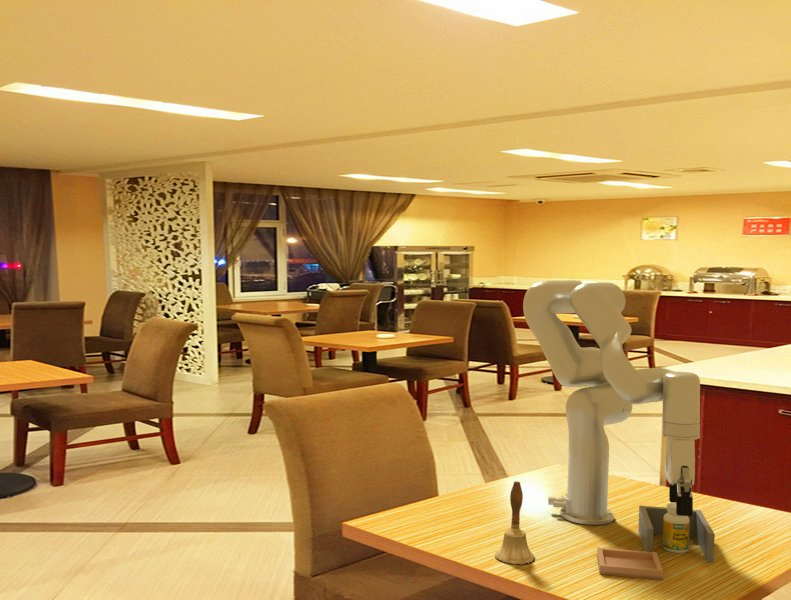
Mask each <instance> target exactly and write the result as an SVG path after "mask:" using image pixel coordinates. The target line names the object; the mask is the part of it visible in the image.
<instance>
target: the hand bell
mask: <svg viewBox="0 0 791 600" xmlns="http://www.w3.org/2000/svg"><path fill="white" fill-rule="evenodd" d="M509 497H510V498H509V500H510V502H509V504H510V506H511V513H512V514H511V524H510V528H508V529H506V530H505V531H504V532H503V533H504V535H503V540H502V543H501V546H500V547H499V549H497V550H496V552H495V553H494V558H495V557H496V558H497V559H499V560H501V561H503V562H502V563H504V562H507V563H506V564H508V563H513V564H512V565H516V564H520V565H526V564H525V563H528V562H531V561H533V560H534V559H536V557H535V555H534V553H533V552H532V551H531V549H530V548H529V545H528V540H527V533H526V532H525V530H523V529H521V528H520V523H521V522H520V520H521V519H520V512H521V509H522V505H523V500H524V495H523V490H522V487H521V481H513V485H512V487H511V490H510V496H509ZM496 558H495V559H496ZM499 560H498V561H499ZM501 561H500V562H501ZM534 561H535V560H534ZM534 561H533V562H534ZM523 563H524V564H523ZM531 563H532V562H531ZM528 564H529V563H528Z"/></svg>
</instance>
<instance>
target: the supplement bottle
mask: <svg viewBox="0 0 791 600" xmlns="http://www.w3.org/2000/svg"><path fill="white" fill-rule="evenodd" d="M666 508H667V512H668V513H666V514H665V515H664V517H663V535H662V548H663V550H664V551H668V552H670V553H674V554H685V553H687V552H688V550H689V545H690V544H689V543H690V542H689V541H690V537H689V518H688V516H678V515H677V514H676V503H673V502H670V503H667V504H666Z"/></svg>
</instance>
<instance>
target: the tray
mask: <svg viewBox="0 0 791 600" xmlns="http://www.w3.org/2000/svg"><path fill="white" fill-rule="evenodd" d="M596 557H597V558H596V559H597V565H598V572H599V575H603V576H614V577H615V576H616V577H622V578H623V577H624V578H625V577H626V578H637V579H644V580H645V579H647V580H649V579H650V580H657V581H664V569H663V567H662V564H661V562H660V559H659V556H658V553H657V551H653V552H646V551H645V550H634V549H621V548H612V547H611V548H609V547H599V546H598V547H596Z"/></svg>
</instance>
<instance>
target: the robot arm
mask: <svg viewBox="0 0 791 600" xmlns="http://www.w3.org/2000/svg"><path fill="white" fill-rule="evenodd" d="M625 307H626V296H625V293H624V292H623V289H621V288H620V286H618V285H617V284H615V283H613V282H607V281H605V282H604V281H601V282H599V281H588V280H587V281H586V280H574V279H573V280H559V279H558V280H556V279H555V280H543V281H539V282H536V283H534V284H531V286H530V287H528V289H527V290H526V292H525V295H524V297H523V304H522V308H523V309H522V310H523V316H524V319H525V321H526V324H527V326H528V327H529V329H530V331H531V332H532V334H533V335H534V337H535V340H537V342H538V344H539V346H540V348H541V350H542V353H543V355H544V357H545V359H546V360H547V363H548V365H549V367H550V368H551V371H552V373H553V375H554V376H555V378H556V380H557V382H558V383H559V384H560V385H561V386H563V387H565V388H578V387H583V388H578V389H576V390H574V391H573V392H572V393H571V394H569V396H568V398H567V399H566V402H565V403H566V404H565V414H566V421H567V427H568V428H567V429H568V459H567V461H568V462H567V463H568V464H567V492H566V493H565V496H561V497H555V496H548V501H547V503H548V505H549V506H552V507H553V508H560V511H559V512H560V516H561V517H562V518H563V519H564V520H566V521H568V522H572V523H576V524H581V525H588V526H589V525H590V526H591V525H593V526H599V525H600V526H601V525H605V524H610V523H611V522H613V521H614V516H615V515H614V512H612V511H611V510H610V509H608V499H609V498H608V495H609V493H608V492H609V467H610V444H609V443H610V442H609V439H608V436H607V434H606V431H605V427H604V426H608V425H614V424H618V423H622V422H624V421H626V420H628V418H630V417H631V415H632V411H633V405H643V404H651V403H658V402H662V436H663V438H666V440H665V454H664V455H665V457H664V458H665V459H664V460H665V461H664V476H665V478H666V481H668V483H669V486H668V487H669V488H668V489H669V494H668V495H669V496H668V497H669V502H670V503H676V514H677V515H678V516H692V515H693V510H694V507H693V506H694V504H693V503H694V502H693V500H694V498H693V488H692V487H693V486H694V484H695V476H696V467H695V466H696V458H695V457H696V455H695V454H696V452H695V451H696V449H695V447H696V446H695V440H699V439H700V438H701V436H700V435H701V434H700V433H701V429H700V427H701V424H700V422H701V414H700V413H701V379H700V377H699V375H698V374H697V373H693V372H689V371H674V370H671V369H668V368H664V367H651V368H640V369H636V368H635V367H634V366H633V364H632V362H631V361H630V360H629V359H628V357H627V356H626V353H625V352H624V349H623V345H624V344H625V342H626V341H627V340H628V339H629V338H630V336H631V333H632V326H631V325H630V323H629V322H628V321H627V319H626V318H625V317H624V315H622V312H623V311H624V309H625ZM560 314H561V315H562V314H563V315H564V314H575V315H576V316H577V318H579V320H580V322H581V323H582V324H583V325H584V327H585V328H586V329H587V331H588V333H590V335H591V336H592V338H593V340H595V342H596V344H597V346H598V347H599V348H598V347H592V346H591V347H589V346H588V347H581V346H580V344H579V343H578V341H576V338H575V336H574V334H573V333H572V331H571V329H570V327H569V326H568V325H567V324H566V323H565V322H564V321H562V320H561V319H560V318H559V317H558V315H560Z"/></svg>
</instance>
